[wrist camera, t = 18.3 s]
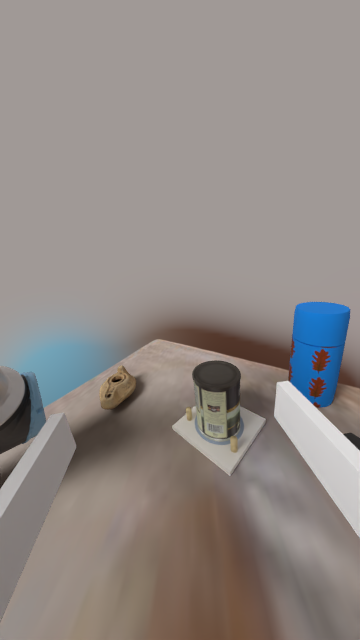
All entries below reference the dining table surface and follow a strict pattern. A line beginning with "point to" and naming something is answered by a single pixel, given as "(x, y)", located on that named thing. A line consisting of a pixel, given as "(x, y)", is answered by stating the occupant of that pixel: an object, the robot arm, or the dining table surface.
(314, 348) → the thermos
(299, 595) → the dining table surface
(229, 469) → the pin jig
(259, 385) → the dining table surface
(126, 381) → the oil lamp
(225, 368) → the coffee can
